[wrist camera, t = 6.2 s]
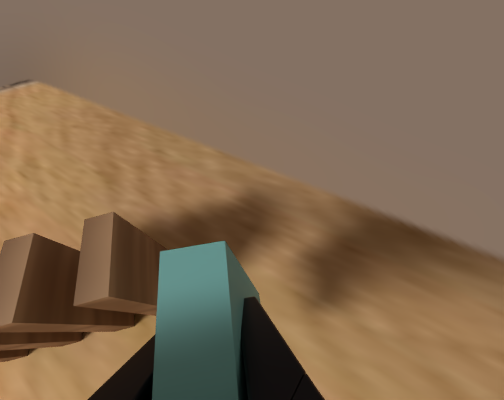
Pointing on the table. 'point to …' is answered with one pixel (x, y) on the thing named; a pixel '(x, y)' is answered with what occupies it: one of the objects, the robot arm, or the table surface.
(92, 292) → the domino
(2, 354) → the domino
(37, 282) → the domino
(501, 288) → the table surface
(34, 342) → the domino
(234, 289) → the domino
